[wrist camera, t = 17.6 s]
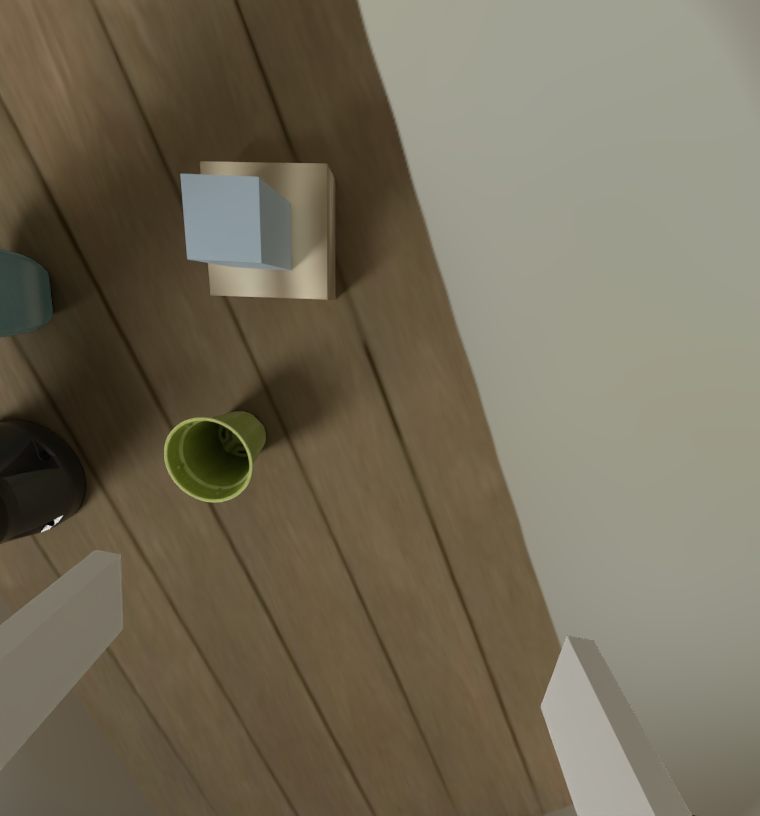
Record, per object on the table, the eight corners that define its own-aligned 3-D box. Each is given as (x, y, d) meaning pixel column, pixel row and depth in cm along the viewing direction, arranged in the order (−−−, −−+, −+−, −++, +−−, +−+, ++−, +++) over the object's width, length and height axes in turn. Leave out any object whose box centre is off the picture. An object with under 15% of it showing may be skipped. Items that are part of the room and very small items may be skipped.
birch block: (231, 296, 43) (210, 295, 39) (224, 178, 40) (199, 161, 35) (335, 299, 43) (327, 299, 38) (336, 180, 40) (326, 163, 35)
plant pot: (210, 467, 49) (170, 501, 41) (201, 396, 46) (156, 417, 38) (281, 469, 48) (256, 503, 40) (276, 397, 46) (247, 418, 38)
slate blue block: (232, 267, 38) (187, 259, 30) (228, 200, 36) (180, 173, 28) (291, 270, 37) (261, 263, 30) (290, 203, 36) (258, 176, 28)
